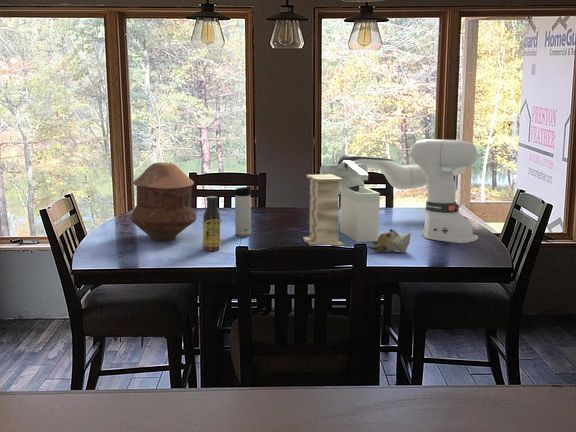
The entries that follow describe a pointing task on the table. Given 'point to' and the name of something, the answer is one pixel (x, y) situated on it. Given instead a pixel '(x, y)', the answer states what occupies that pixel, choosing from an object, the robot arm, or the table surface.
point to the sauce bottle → (211, 225)
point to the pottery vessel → (163, 202)
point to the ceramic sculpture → (391, 242)
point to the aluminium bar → (356, 170)
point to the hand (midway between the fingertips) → (348, 163)
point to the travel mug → (243, 212)
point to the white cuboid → (360, 214)
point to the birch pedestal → (324, 210)
